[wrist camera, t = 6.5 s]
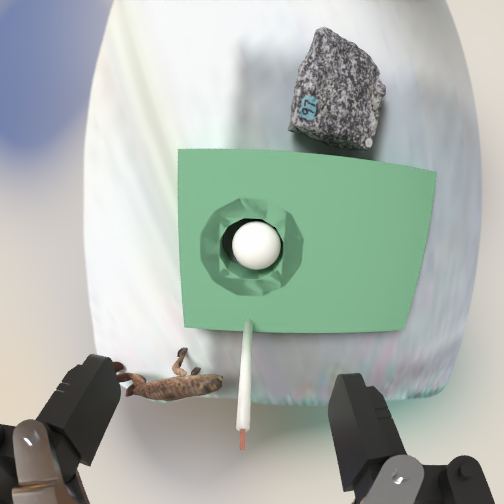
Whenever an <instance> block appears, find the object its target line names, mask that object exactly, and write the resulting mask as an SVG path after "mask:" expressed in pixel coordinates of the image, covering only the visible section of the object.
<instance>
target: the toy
mask: <svg viewBox="0 0 504 504" xmlns="http://www.w3.org/2000/svg"><path fill="white" fill-rule="evenodd" d="M187 349H188V348H181V349H180V350H179V351H178V355H177V357H179V358H178V360H177V361H176V363H175V364H174V365H173V367H172V368H173V371H174V373H175V374H176V375H180V376H177V377H173V378H168V379H161V380H157V381H152V382H148V383H146V379H145V378H144V377H142V376H141V375H139V374H133V373H123V374H118V375H117V378H118V381H119V382H126V381H129V380H133V385H131V386H130V387H129V388H128V389H127V391H126V396H131V395H133V394H134V395H140V396H143V397H146V398H149V399H155V400H165V401H171V400H178V399H182V398H186V397H191V396H200V395H206V394H209V393H212V392H214V391H216V390H218V389H219V388H221V387H222V379H223V377H222V376H217V375H213V374H210V375H197V374H198V372H199V371H200V369H201V368H194V369H193V370H192V372H191V375H190V376H185V375H186V374H187V372H186V371H184V370H183V369H181V368H180V366H181V364H182V362H183V359H184V356H185V352H186V351H187ZM113 365H114V369H115V372H116V373H117V372H118V371H120V370H121V369H123V364H121V363H119V362H113Z"/></svg>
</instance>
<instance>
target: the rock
mask: <svg viewBox="0 0 504 504" xmlns="http://www.w3.org/2000/svg"><path fill="white" fill-rule="evenodd" d="M379 74H380V73H379V69H378V67H377V66H376V64H375V63H374V61H373V60H372V58H371V57H370V56H369V55H368V54H367V53H366V52H365V51H363V50H362V49H360V48H358V46H357V45H356V44H354V43H353V42H350V41H347V40H346V39H344V38H342V37H340V36H339V35H338V34H336V33H335V32H333V31H332V30H330V29H328V28H326V27H323V28H319V29H317V30H316V32H315V35H314V38H313V42H312V44H311V47H310V50H309V52H308V53H307V55H306V57H305V60H304V61H303V63H302V64H301V65H300V67H299V70H298V78H297V81H296V86H295V90H294V96H293V100H292V106H291V120H290V124H289V127H288V131H291V132H300V133H305V134H307V135H308V136H309V137H310V138H312V139H316V140H320V141H323V142H324V143H325V144H327V145H329V146H333V147H336V148H339V149H345V150H360V151H361V150H365V151H366V150H369V149H370V147H371V146H372V144H373V139H374V136H375V133H376V128H377V124H378V117H379V114H380V109H381V108H380V107H381V104H382V97H383V96H384V95H385V94H386V87H385V85H383V84H382V83H381V82H380V80H379V79H378V77H379Z"/></svg>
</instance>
